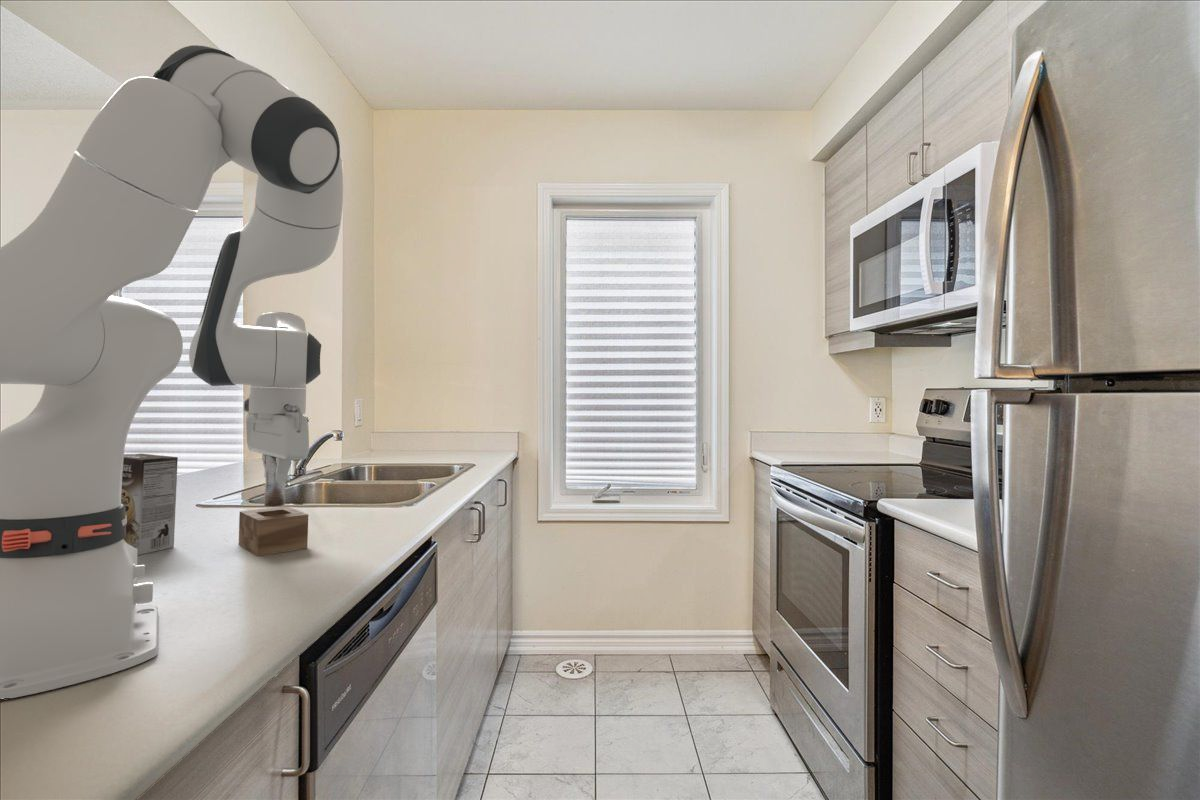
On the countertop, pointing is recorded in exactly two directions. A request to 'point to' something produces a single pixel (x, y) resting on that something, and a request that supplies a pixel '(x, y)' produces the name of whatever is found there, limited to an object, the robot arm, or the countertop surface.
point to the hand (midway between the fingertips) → (275, 480)
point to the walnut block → (273, 530)
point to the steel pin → (273, 485)
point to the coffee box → (149, 501)
